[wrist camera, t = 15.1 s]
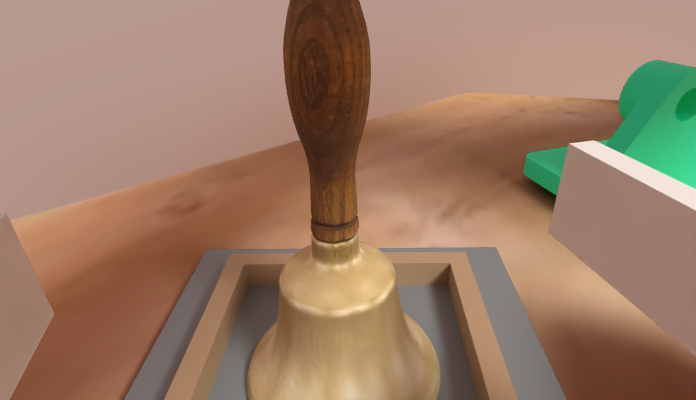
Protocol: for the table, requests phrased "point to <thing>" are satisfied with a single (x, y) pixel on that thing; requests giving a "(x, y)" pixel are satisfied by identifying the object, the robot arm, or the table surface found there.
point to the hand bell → (337, 239)
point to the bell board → (416, 301)
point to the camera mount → (643, 126)
